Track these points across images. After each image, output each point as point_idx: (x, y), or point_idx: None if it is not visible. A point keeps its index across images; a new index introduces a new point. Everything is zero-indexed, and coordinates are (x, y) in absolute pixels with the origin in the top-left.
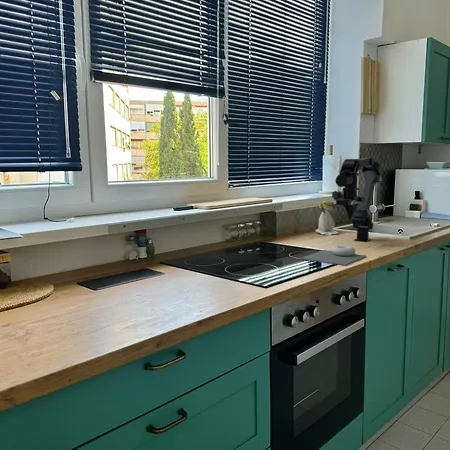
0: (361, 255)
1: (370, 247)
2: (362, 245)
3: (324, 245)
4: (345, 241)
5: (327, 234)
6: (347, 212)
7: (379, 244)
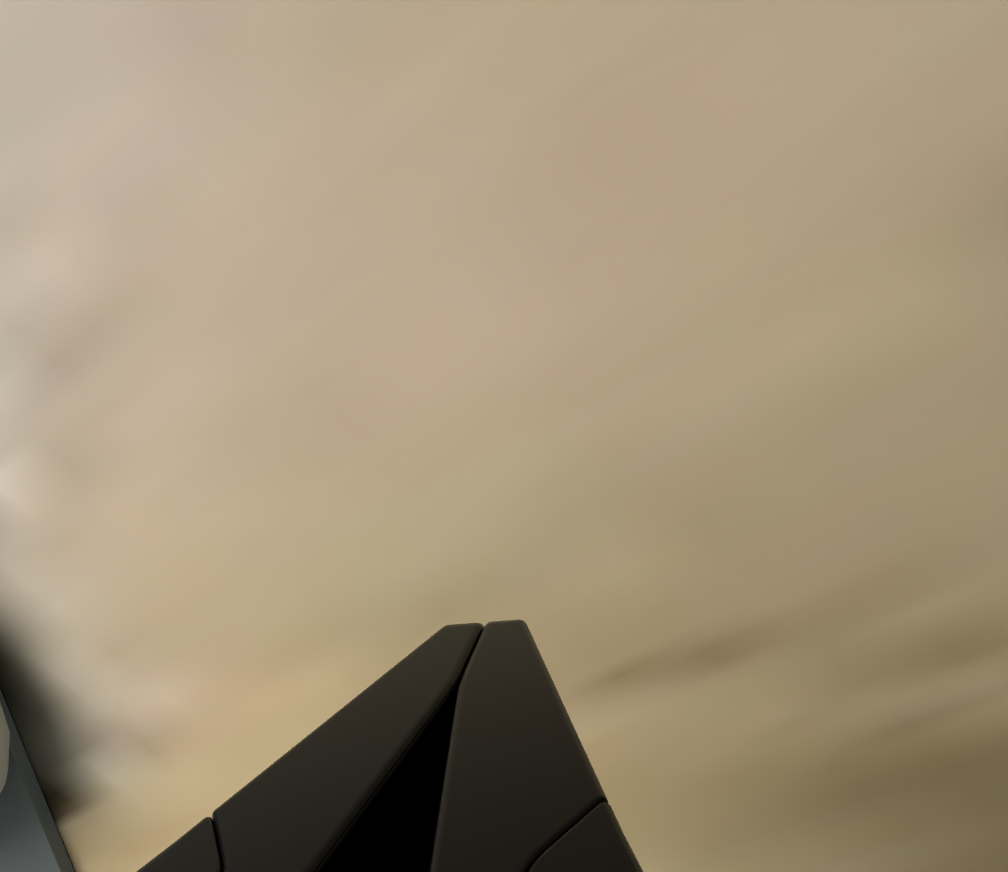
0: (35, 865)
1: (643, 700)
2: (709, 536)
3: (170, 9)
4: (880, 51)
5: None
6: (255, 818)
7: (1000, 697)
